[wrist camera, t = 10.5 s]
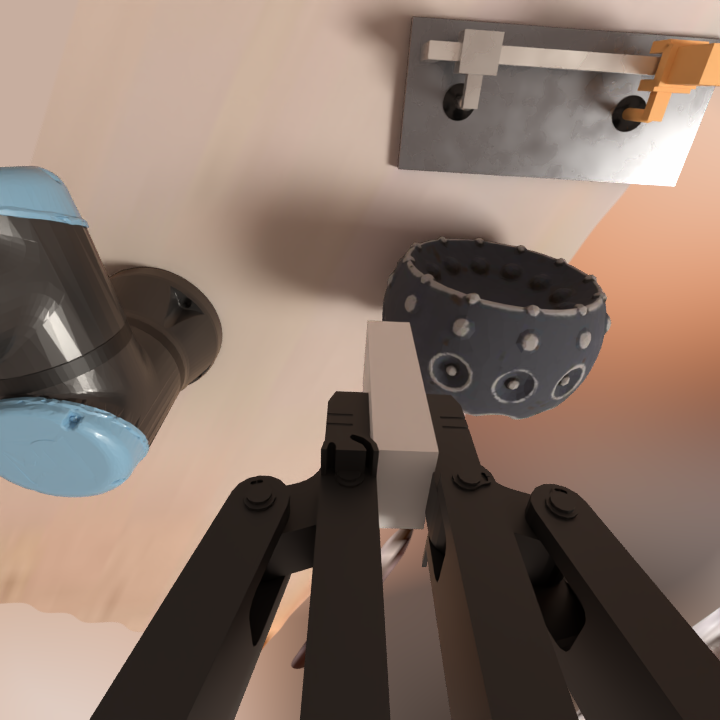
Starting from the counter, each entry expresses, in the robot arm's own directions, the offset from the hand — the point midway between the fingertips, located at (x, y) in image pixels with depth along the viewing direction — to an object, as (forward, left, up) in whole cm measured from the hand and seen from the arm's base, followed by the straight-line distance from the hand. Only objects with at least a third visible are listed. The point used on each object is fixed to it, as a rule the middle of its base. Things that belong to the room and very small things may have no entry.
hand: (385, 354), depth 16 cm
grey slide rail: (+17, +10, -34) cm, 40 cm away
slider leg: (+24, +10, -33) cm, 42 cm away
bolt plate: (+17, +7, -34) cm, 39 cm away
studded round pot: (+12, -10, -35) cm, 38 cm away
